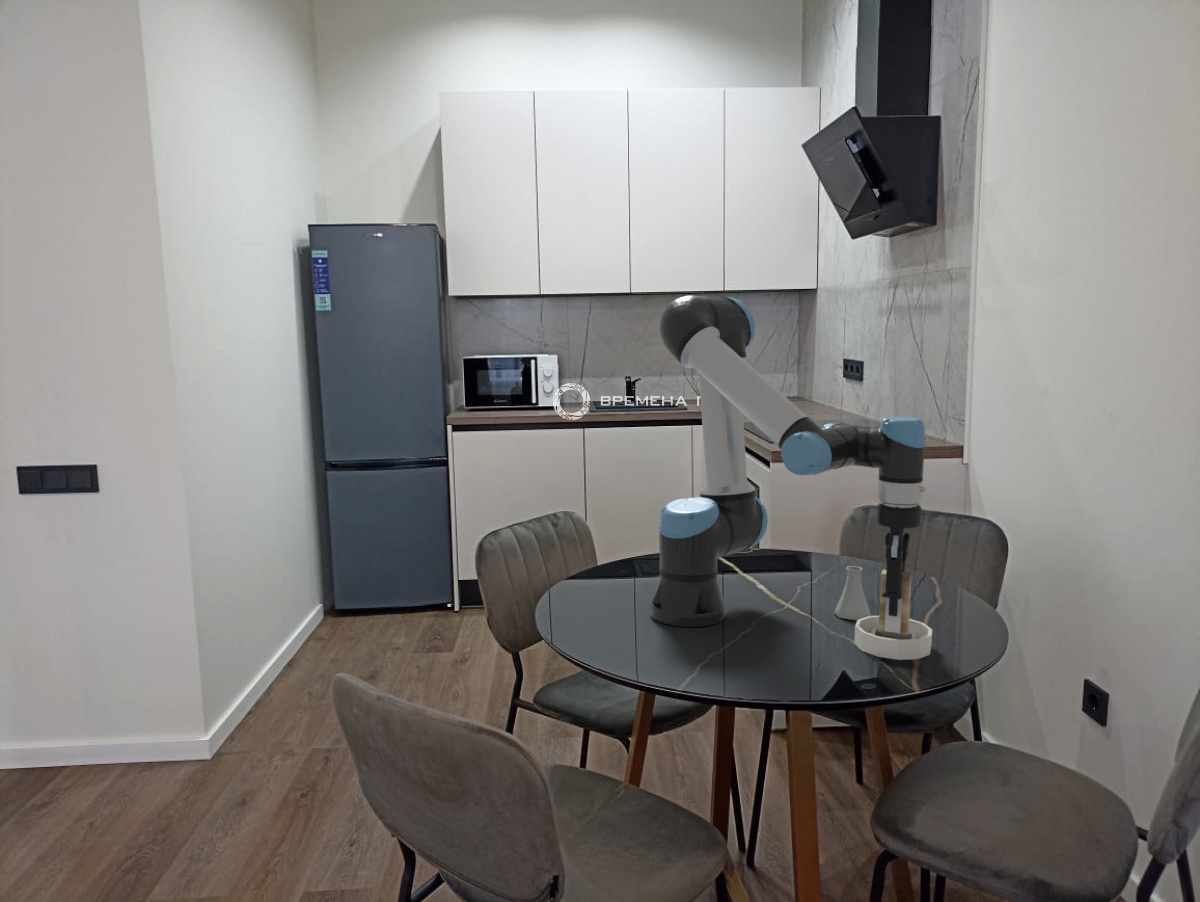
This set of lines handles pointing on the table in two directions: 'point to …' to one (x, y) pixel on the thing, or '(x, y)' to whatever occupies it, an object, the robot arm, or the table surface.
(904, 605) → the wooden block
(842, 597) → the flask
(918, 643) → the white round dish
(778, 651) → the table surface
